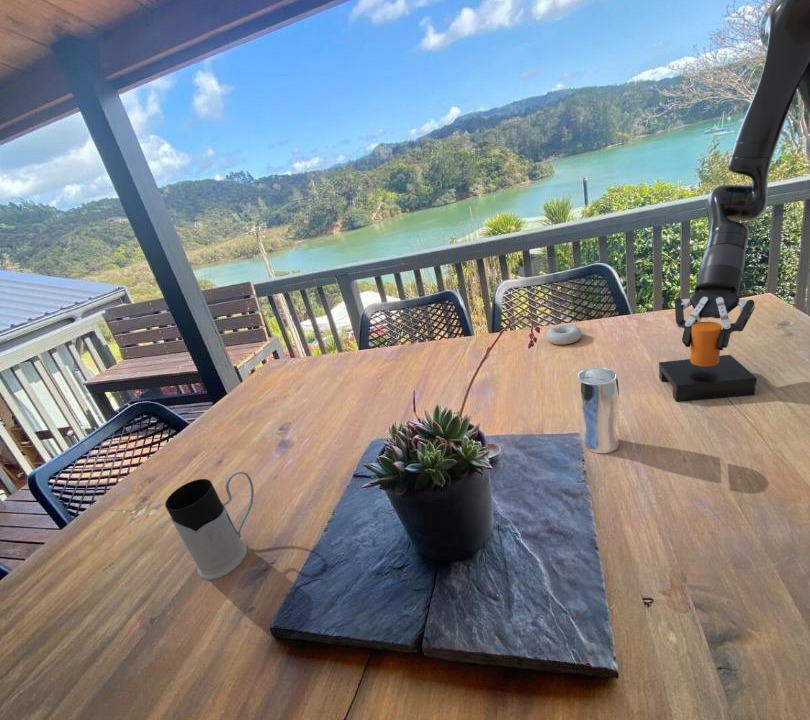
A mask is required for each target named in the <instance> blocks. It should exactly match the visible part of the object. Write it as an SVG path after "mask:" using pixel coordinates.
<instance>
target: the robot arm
mask: <svg viewBox="0 0 810 720" xmlns="http://www.w3.org/2000/svg"><path fill="white" fill-rule="evenodd" d="M759 36H760V40H761V42H762V44H763V45H764V46H765V47H766V52H765V53H766V54H765V58H764V59H765V60H764V64H763V69H762V72H761V75H760V78H759V82H758V84H757V86H756V90H755V92H754V94H753V97H752V99H751V102H750V104H749V106H748V108H747V110H746V112H745V115H744V116H743V119H742V121H741V123H740V126H739V129H738V132H737V134H736V137H735V140H734V143H733V147H732V150H731V152H730V153H731V154H730V158H729V160H728V164H727V169H728V171H729V172H731V173H734V174H736V175H737V174H738V175H742V176H746V177H748V178H750V179H751V181H752V183H751V185H749V184H748V185H747V184H746V185H745V184H721V185H718V186H716V187H714V188H713V189H712V190H711V191H710V192H709V194H708V196H707V199H706V205H705V211H706V217H707V222H708V223H707V224H708V236H707V241H706V245H705V250H704V253H703V256H702V259H701V261H700V263H699V264H700V265H699V269H698V273H697V277H696V282H695V285H694V290H693V293H692V294H691V296H689V297H688V298H680V297H676V298H675V299H674V311H675V323H676V325H677V327H678V328H682V329H683V332H682V337H681V342H682V343H683V345H684V347H685V348H691V330H692V325H693V324H695V323H698V322H702V321H701V320H703V319H709V318H712V319H720V320H721V324H722V329H721V333H720V337H719V342H718V350H720V351H724V349H727V348H728V346H729V342H730V337H731V335H732V333H734V332H739V333H740V332H742V331H744V330H745V327H746V326H747V324H748V322H749V320H750V318H751V316H752V314H753V313H754V310H755V309H756V305H755V300H753V299H748V300H745V299H740V297H739V292H740V287H741V283H742V278H743V274H744V272H745V263H746V252H747V247H748V243H749V238H750V228H749V227H748V226H747V225H746V224H744V223H742V222H738V221H743V222H744V221H747V222H749V221H755V220H756V219H758V218H759V217H760V216H761V215H763V213H764V212H765V211H766V208H767V206H768V195H769V194H768V183H769V173H770V168H771V163H772V161H773V157H774V156H775V155H774V154H775V152H776V149H777V146H778V143H779V141H780V137H781V135H782V131H783V130H784V129H783V128H784V126H785V123H786V119H787V117H788V114H789V111H790V109H791V106H792V103H793V100H794V98H795V96H796V92H797V91H798V94H799V96H800V98H801V101H802V103H803V105H804V106H805V108H806V110H807V113H808V115H810V0H774V1H773V2H772V3H771V5H769V6H768V8H767V9H766V11H765V13H764V15H763V17H762V19H761V22H760V26H759ZM689 305H690V306H692V308H693V310H692V311H691V313H690V315H689V317H688V318H687V320H685V313H684V311H685V310H687V308H688V306H689ZM737 307H739V311H740V314H739V315H738V317H737V319H736V321H735V322H733V323H730V318H729V313H730V312H732V311H733V310H735V308H737Z"/></svg>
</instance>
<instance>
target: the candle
mask: <svg viewBox="0 0 810 720" xmlns="http://www.w3.org/2000/svg"><path fill="white" fill-rule="evenodd" d="M721 330H723V325H721V324H720V323H718V322H715V321H700V322H698V323H695V324H693V325H692V330H691V345H690V357H689V359H690V362H691V363H692V364H694V365H697V366H702V367H710V366H715V365H717V364H718V363H719V357H720V356H721V355H720V354H721V350H718V342H719V337H720V333H721Z"/></svg>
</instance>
